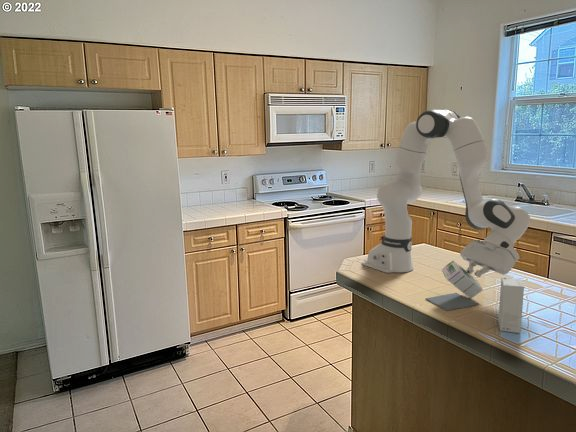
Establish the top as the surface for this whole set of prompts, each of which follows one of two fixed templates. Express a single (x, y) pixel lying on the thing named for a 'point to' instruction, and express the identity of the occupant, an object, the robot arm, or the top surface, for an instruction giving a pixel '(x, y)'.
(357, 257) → the top surface
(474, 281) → the syrup box
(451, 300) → the mat
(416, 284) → the top surface
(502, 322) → the skincare box
